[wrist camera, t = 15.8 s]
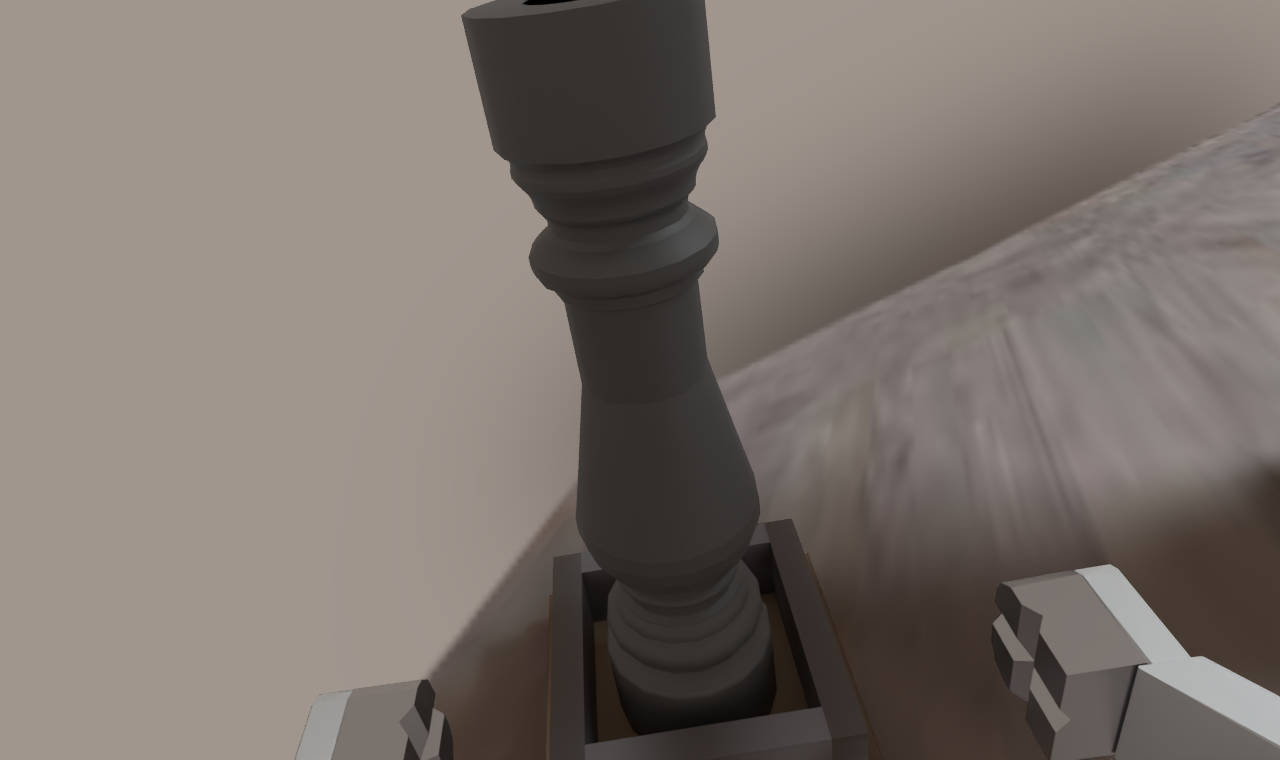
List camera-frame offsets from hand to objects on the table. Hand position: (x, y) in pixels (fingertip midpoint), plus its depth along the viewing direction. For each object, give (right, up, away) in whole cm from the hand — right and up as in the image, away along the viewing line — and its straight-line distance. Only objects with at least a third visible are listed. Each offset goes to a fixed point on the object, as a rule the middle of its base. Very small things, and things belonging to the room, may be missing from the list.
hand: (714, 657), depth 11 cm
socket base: (+1, -9, +21) cm, 23 cm away
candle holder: (+1, -8, +20) cm, 22 cm away
